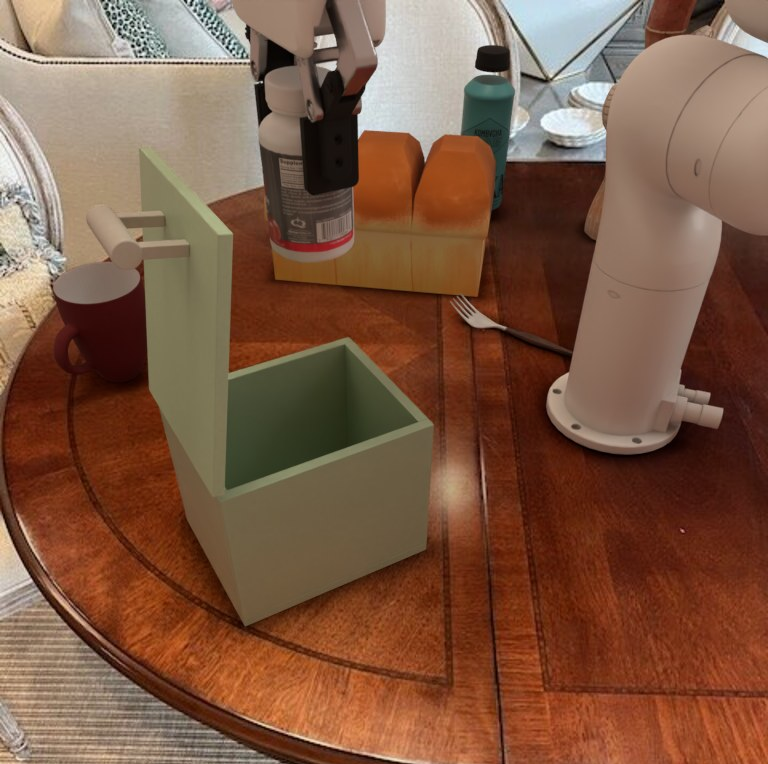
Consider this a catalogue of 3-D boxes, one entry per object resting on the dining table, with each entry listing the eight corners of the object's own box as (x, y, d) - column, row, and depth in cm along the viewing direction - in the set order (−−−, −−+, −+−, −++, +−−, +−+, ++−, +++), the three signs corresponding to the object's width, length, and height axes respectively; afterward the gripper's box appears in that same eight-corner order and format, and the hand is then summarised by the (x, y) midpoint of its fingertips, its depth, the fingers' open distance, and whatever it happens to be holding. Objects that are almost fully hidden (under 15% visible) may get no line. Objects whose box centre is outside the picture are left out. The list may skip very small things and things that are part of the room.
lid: (152, 146, 45) (63, 146, 43) (233, 233, 38) (131, 238, 35) (159, 388, 56) (88, 398, 53) (224, 495, 48) (145, 513, 46)
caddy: (352, 459, 70) (348, 336, 61) (426, 549, 63) (434, 424, 54) (186, 519, 65) (155, 394, 56) (244, 627, 57) (219, 502, 48)
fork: (574, 367, 81) (578, 351, 79) (447, 317, 88) (448, 301, 86) (586, 356, 82) (590, 340, 81) (460, 308, 89) (461, 292, 88)
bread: (488, 248, 99) (501, 125, 89) (481, 298, 90) (494, 168, 80) (296, 233, 102) (286, 111, 91) (270, 280, 93) (257, 152, 83)
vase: (577, 241, 101) (631, -40, 79) (580, 216, 106) (631, -54, 84) (662, 250, 99) (740, -35, 78) (660, 224, 104) (733, -49, 83)
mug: (114, 417, 74) (86, 326, 67) (47, 397, 77) (13, 306, 70) (177, 360, 81) (158, 271, 74) (114, 342, 84) (89, 254, 76)
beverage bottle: (446, 206, 108) (456, 42, 94) (490, 200, 109) (507, 37, 95) (463, 226, 103) (477, 57, 89) (509, 220, 105) (530, 52, 91)
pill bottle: (270, 227, 51) (253, 61, 44) (352, 224, 52) (347, 59, 45) (269, 267, 48) (250, 93, 41) (357, 263, 48) (353, 90, 41)
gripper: (464, -257, 30) (438, 212, 42) (280, -262, 40) (304, 115, 53) (281, -256, 27) (313, 243, 40) (136, -262, 38) (199, 134, 50)
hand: (308, 166), depth 46 cm, fingers closed on pill bottle, 5 cm apart
